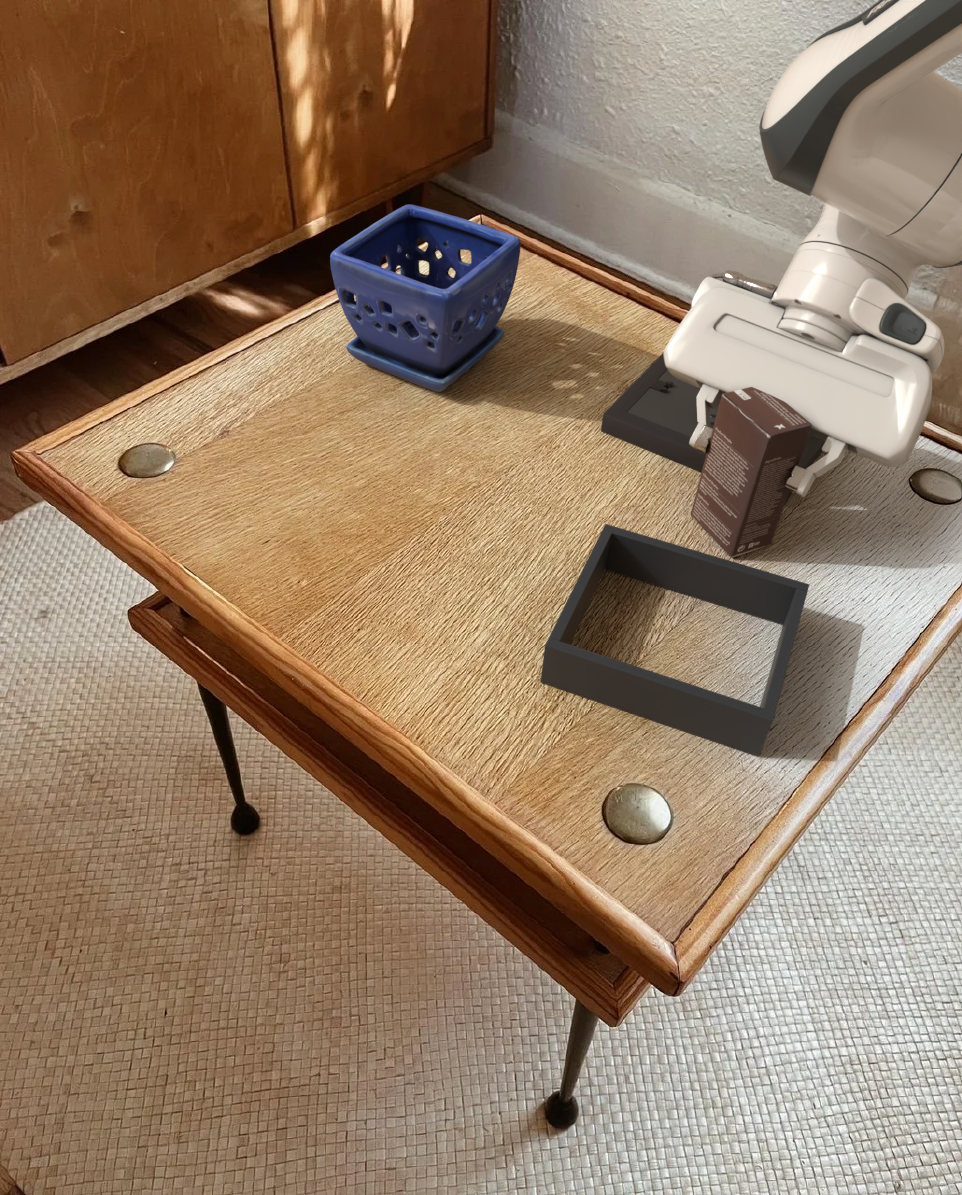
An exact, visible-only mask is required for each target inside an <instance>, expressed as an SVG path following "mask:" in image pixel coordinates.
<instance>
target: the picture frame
mask: <svg viewBox="0 0 962 1195" xmlns="http://www.w3.org/2000/svg"><path fill="white" fill-rule="evenodd" d="M700 389H701V388H698V387H696V386H693V385H691V384H689V383H686V382H684V381H682V380H679V379H677V378H675V377H674V376H673V375H672V374H671V373H670V372H669V371H668V369H667V368H666V365H665V361H664V351H663V352H662V353H660V355H659V356H658V357H657V358H656V359H655V361H654V362H652V364H650V365H649V367H647V369H645V371H644V372H643V373H642V374H641V375H640V376H638V377H637V379H636V380H634V382H633V383H632V384H631V385H630V386H629V387H627V389H626V390H625V391H624V392H623V393H621V395H620V396H619V397H618V398H617V399H616V400H615V401H614V402H613V403H612V404H611V405H610V406H609V407H608V408H607V409H606V410H605V411H604V412H603V414H602V419H601V428H600V432H603V433H605V434H607V435H610V436H612V437H614V438H617V439H619V440H622V441H624V442H626V443H630V444H631V445H633V446H636V447H639V448H642V449H644V450H646V451H649V452H651V453H654V454H656V455H659V456H661V457H663V458H665V459H668V460H670V461H673V462H675V463H677V464H681V465H683V466H685V467H688V468H690V469H693V470H695V471H698V472H700V473H702V469H703V465H704V462H705V458H706V454H707V453H704V452H702V451H700V450H697V449H695V448H693V447H691V446H690V444H689V442H690V438H691V437H692V435H693V433H694V431H695V429H696V427H697V425H698V422H697V398H696V397H697V395H698V393H699V391H700ZM717 412H718V409H717V410H715V409H713V408H710V426H711V428H712V429H713V427H714V423H715V419H716V416H717ZM824 443H825V441H824V440H822V439H819V438H817V437H814V436H812V435H810V434H808V437H807V440H806V443H805V446H804V449H803V452H802V455H801V458H800V461H799V464H798V466H799V467H801V468H804V469H806V468H808V467H809V466H810V465H812V464H813V463H815V462H816V461H817V460H818V458H819V456H820V455H821V454H822V453H823V451H822V447H823V445H824ZM793 494H794V493H793V492H791V491H789V493H788V496H787V499H786V502H785V505H786V504H787V502H788V501H789V500H790V498H791V497H792V495H793Z"/></svg>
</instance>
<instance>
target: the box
mask: <svg viewBox="0 0 962 1195" xmlns="http://www.w3.org/2000/svg"><path fill="white" fill-rule="evenodd" d="M811 426H812V424H811V423H810V422H809V421H807V420H806V419H805V418H804V417H803V416H801V415H800V414H799V413H798V412H797V411H795V410H794V409H793V408H792V407H791V406H789V405H788V404H787V403H786V402H784V401H782V400H780V399H778V398H776V397H774V396H772V395H770V394H768V393H765V392H763V391H761V390H758V389H756V388H753V387H748V388H744V389H740V390H736V391H732V392H728V393H724V394H722V396H721V400H720V405H719V408H718V412H717V416H716V419H715V423H714V427H713V431H712V435H711V439H710V442H709V447H708V450H707V454H706V458H705V462H704V465H703V469H702V472H700V478H699V481H698V485H697V489H696V493H695V496H694V499H693V503H692V507H691V511H690V516H691V517H692V518H693V519H694V520H695V521H696V522H697V523H698V525H700V527H702V529H703V530H705V532H706V533H707V534H708V535H709V536H710V537H711V538H712V539H713V540H714V541H715V543H717V544H718V545H719V546H720V547H721V549H722V550H723V551H724V552H725V553H726V554H727V555H728V557H730V558H735V557H736V558H738V557H740V556H742V555H746V554H750V553H752V552H755V551H758V550H759V549H763V548H766V547H768V546H771V545H772V543H773V539H774V537H775V535H776V531H777V528H778V526H779V522H780V521H781V520H780V519H781V516H782V514H783V510H784V507H785V506H786V504H785V502H786V499H787V496H788V493H789V490H787V489H786V488H785V484H786V482H787V480H788V478H790V477H792V474H791V473H792V471H793V469H794V467H795V465H797V466H798V464H799V461H800V458H801V455H802V452H803V449H804V446H805V443H806V440H807V437H808V434H809V431H810V428H811ZM786 503H787V502H786Z"/></svg>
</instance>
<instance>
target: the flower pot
mask: <svg viewBox="0 0 962 1195" xmlns="http://www.w3.org/2000/svg"><path fill="white" fill-rule="evenodd" d="M420 240H423V241H424V242H425V243H427V247H426V249H425V250H423V249H421V247H419V245H418V244H419V241H420ZM521 243H522V241H521V239H520V237H519V236H517V235H514V234H511V233H507V232H505V231H502V230H499V229H496V228H493V227H490V226H488V225H484V224H481V223H478V222H475V221H472V220H469V219H465V218H462V217H459V216H455V215H451V214H448V213H445V212H441V211H439V210H435V209H431V208H428V207H427V208H426V207H423V206H420V205H415V204H405V205H403V206H401V207H399V208H397V209H395V210H394V211H392V212H390V213H389V214H387V215H385V216H384V217H383V218H380V219H379V220H377V221H376V222H374V223H372V224H371V225H369V226H368V227H367V228H365V229H363V230H362V231H359V233H357V234H356V235H354V236H353V237H351V238H350V239H348V240H347V241H345V242H344V243H342V244H340V245H339V246H337V248H335V249H334V250H333V251H332V252H331V253H330V256H329V258H330V259H329V263H330V265H329V266H330V271H331V275H332V280H333V285H334V288H335V292H336V295H337V298H338V301H339V304H340V306H341V309H342V311H343V314H344V316H345V318H346V320H347V322H348V324H349V325H350V326H351V329H352V330H353V331H354V333H355V334H356V337H355V338H353V339H352V340H350V341H349V342H348V343H347V344H346V347H345V349H346V351H347V352H348V354H350V355H351V356H352V357H353V358H354V359H356V360H358V361H359V362H361V363H363V364H364V365H367V366H370V367H372V368H374V369H377V370H379V371H382V372H385V373H387V374H390V375H391V376H394V377H397V378H400V379H402V380H405V381H407V382H409V383H412V384H415V385H418V386H419V387H423V388H424V389H425V388H426V389H428V390H431V391H433V392H437V393H441V392H443V391H445V390H446V389H447V388H448V387H450V386H451V385H452V384H453V383H454V382H455V381H457V380H458V379H459V378H460V377H462V376H463V375H464V374H465V373H466V372H468V371H469V370H470V369H471V368H472V367H473V366H475V365H476V364H477V363H479V361H480V360H482V359H483V358H484V357H485V356H486V355H488V354H489V353H490V352H492V351H493V349H495V347H496V346H497V345H498V344H499V343H500V342H501V341H502V340H503V338H504V336H505V333H506V331H505V329H503V328H502V327H499V326H497V325H498V323H499V321H500V320H501V319H502V316H503V314H504V312H505V310H506V308H507V305H508V302H509V300H510V298H511V295H512V292H513V289H514V285H515V282H516V277H517V273H518V268H519V262H520V257H521V256H520V254H521V247H522V244H521ZM436 251H438V252H439V253H440V254H441V257H438V256H437V252H436ZM462 251H469V253H470V263H469V262H465V261H463V260H462V256H461V255H462V253H461V252H462ZM384 257H385V259H386V262H387V266H386V267H385V268H384V267H382V260H383V258H384ZM422 261H423V262H426V263H427V264H428V274H424V273H421V271H420V262H422ZM398 266H399V269H400V273H397V268H398ZM451 269H452V270H453V271H454V276H451V274H450V273H449V272H450V270H451Z"/></svg>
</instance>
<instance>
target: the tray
mask: <svg viewBox="0 0 962 1195" xmlns="http://www.w3.org/2000/svg"><path fill="white" fill-rule="evenodd" d="M606 571H608V572H610V573H613V574H617V575H620V576H623V577H627V578H630V579H633V580H637V581H639V582H643V583H646V584H650V585H652V586H656V587H659V588H662V589H665V590H669V591H672V592H675V593H679V594H682V595H685V596H688V597H691V598H694V599H695V598H696V599H698V600H702V601H705V602H708V603H711V604H715V605H717V606H720V607H724V608H727V609H731V610H733V611H736V612H741V613H743V614H747V615H750V616H754V617H756V618H759V619H763V620H767V621H770V622H773V623H776V624H779V625H782V627H781V630H780V634H779V637H778V641H777V645H776V648H775V652H774V655H773V659H772V663H771V666H770V670H769V673H768V677H767V681H766V684H765V687H764V691H763V694H762V698H761V701H760V706H758V705H755V704H752V703H749V702H746V701H743V700H739V699H736V698H734V697H731V696H727V695H725V694H722V693H719V692H716V691H713V690H709V689H706V688H703V687H700V686H697V685H695V684H691V683H688V682H685V681H681V680H679V679H676V678H674V677H670V676H667V675H664V674H661V673H657V672H655V671H651V670H650V669H646V668H643V667H640V666H636V665H633V664H631V663H627V662H624V661H621V660H618V659H615V658H612V657H610V656H606V655H604V654H600V653H597V652H595V651H594V652H593V651H591V650H588V649H585V648H582V647H578V646H575V645H572V642H573V641H574V638H575V636H576V634H577V632H578V629H579V627H580V625H581V623H582V621H583V619H584V617H585V615H586V612H587V610H588V608H589V606H590V605H591V602H592V601H593V598H594V596H595V594H596V592H597V589H598V588H599V585H600V583H601V581H602V579H603V577H604V575H605V572H606ZM809 588H810V584H809V583H807V582H803V581H800V580H796V579H792V578H789V577H786V576H783V575H779V574H777V573H773V572H769V571H766V570H763V569H759V568H756V567H752V566H749V565H746V564H743V563H739V562H737V561H736V562H735V561H733V560H728V559H725V558H723V557H719V556H715V555H712V554H708V553H705V552H702V551H699V550H695V549H691V548H689V547H684V546H682V545H678V544H674V543H671V542H668V541H665V540H661V539H659V538H655V537H651V536H648V535H644V534H642V533H639V532H635V531H631V530H627V529H624V528H621V527H618V526H614V525H611V524H607V523H605V524H604V526H603V527H602V530H601V532H600V533H599V536H598V538H597V539H596V542H595V544H594V546H593V548H592V550H591V552H590V554H589V556H588V558H587V560H586V563H584V566H583V568H582V570H581V572H580V574H579V576H578V578H577V579H576V582H575V585H574V586H573V588H572V590H571V592H570V594H569V596H568V598H567V599H566V602H565V604H564V606H563V608H562V610H561V611H560V613H559V616H558V618H557V621H556V622H555V625H554V626H553V628H552V631H551V632H550V634H549V637H548V638H547V641H546V642H545V645H544V650H543V651H544V652H543V658H542V665H541V673H540V680H539V681H540V684H543V685H546V686H550V687H553V688H556V689H559V690H562V691H563V692H568V693H570V694H573V695H576V696H579V697H582V698H585V699H588V700H591V701H593V702H595V703H599V704H602V705H604V706H605V705H606V706H607V707H611V708H614V709H617V710H620V711H623V712H626V713H628V714H631V715H634V716H637V717H641V718H644V719H646V720H649V721H652V722H654V723H658V724H661V725H664V726H667V727H670V728H673V729H675V730H678V731H681V732H685V733H687V734H690V735H694V736H696V737H699V738H701V739H704V740H705V739H706V740H708V741H710V742H714V743H717V744H720V745H723V746H725V747H729V748H732V749H735V750H738V751H739V752H742V753H743V752H744V753H746V754H749V755H752V756H755V757H760V754H761V752H762V750H763V747H764V744H765V743H766V740H767V737H768V735H769V732H770V729H771V728H772V725H773V722H774V721H775V720H774V719H775V716H776V712H777V708H778V704H779V701H780V697H781V692H782V689H783V687H784V686H783V685H784V682H785V678H786V674H787V670H788V667H789V664H790V663H789V662H790V660H791V656H792V652H793V647H794V644H795V641H796V637H797V633H798V629H799V625H800V622H801V617H802V614H803V610H804V607H805V603H806V600H807V595H808V592H809Z"/></svg>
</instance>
